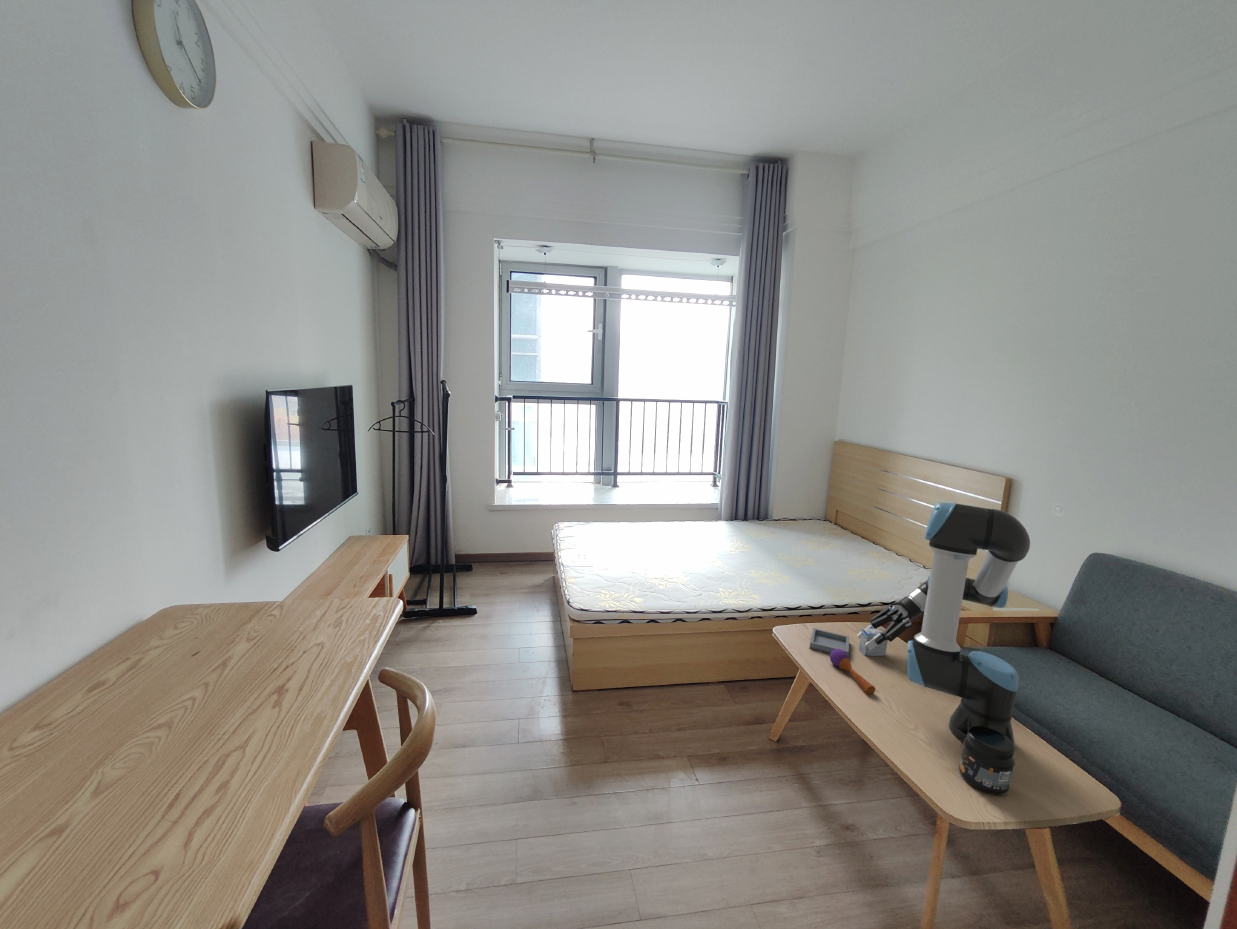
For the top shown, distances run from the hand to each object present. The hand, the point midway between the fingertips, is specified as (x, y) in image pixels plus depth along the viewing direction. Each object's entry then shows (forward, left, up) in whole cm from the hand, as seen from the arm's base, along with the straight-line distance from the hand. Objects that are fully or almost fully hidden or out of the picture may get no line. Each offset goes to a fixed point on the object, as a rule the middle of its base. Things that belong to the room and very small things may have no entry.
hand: (863, 642), depth 189 cm
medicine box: (+1, -3, -4) cm, 6 cm away
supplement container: (-55, -27, -4) cm, 61 cm away
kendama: (-20, +4, -4) cm, 21 cm away
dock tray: (-1, +11, -4) cm, 12 cm away
